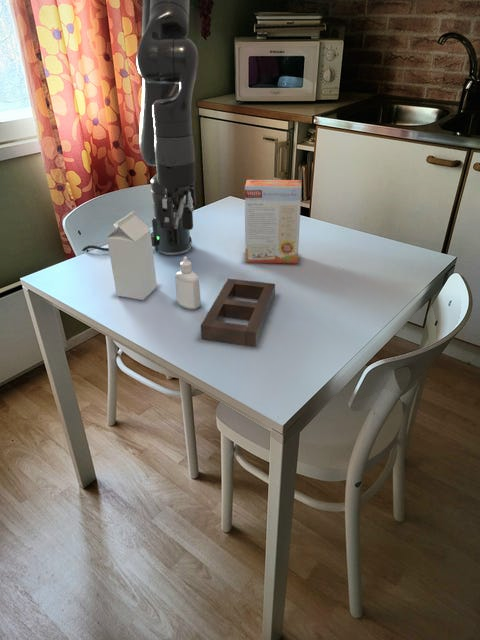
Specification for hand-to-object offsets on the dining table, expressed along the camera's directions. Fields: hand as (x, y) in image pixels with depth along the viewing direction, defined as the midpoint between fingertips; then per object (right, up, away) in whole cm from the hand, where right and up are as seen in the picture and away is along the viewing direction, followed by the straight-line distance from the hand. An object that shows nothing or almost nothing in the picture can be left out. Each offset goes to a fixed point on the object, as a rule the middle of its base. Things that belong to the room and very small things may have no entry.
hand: (181, 236), depth 101 cm
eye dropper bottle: (+1, -14, +9) cm, 17 cm away
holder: (+13, -17, +5) cm, 21 cm away
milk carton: (-12, -11, +15) cm, 22 cm away
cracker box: (+21, -1, +29) cm, 36 cm away
